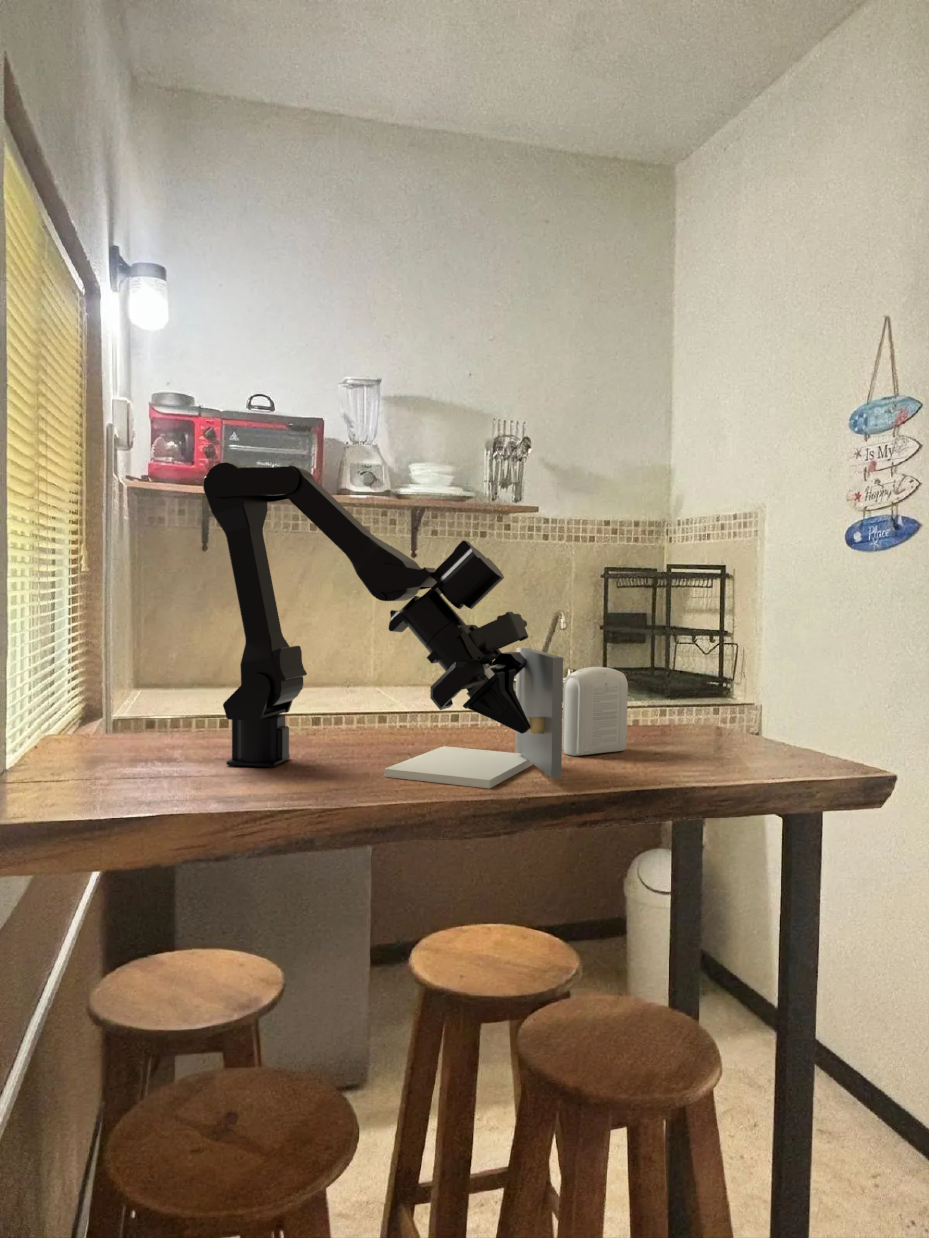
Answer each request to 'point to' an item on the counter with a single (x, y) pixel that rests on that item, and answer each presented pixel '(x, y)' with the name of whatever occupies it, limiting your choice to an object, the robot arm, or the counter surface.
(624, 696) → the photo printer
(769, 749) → the counter surface
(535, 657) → the door
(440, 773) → the board
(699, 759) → the counter surface
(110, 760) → the counter surface
